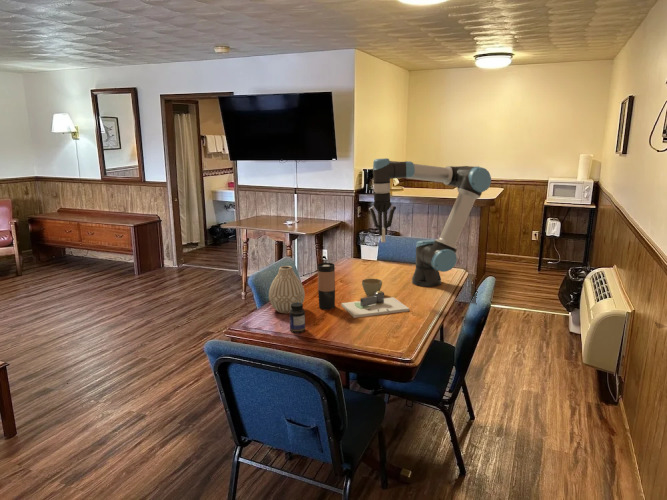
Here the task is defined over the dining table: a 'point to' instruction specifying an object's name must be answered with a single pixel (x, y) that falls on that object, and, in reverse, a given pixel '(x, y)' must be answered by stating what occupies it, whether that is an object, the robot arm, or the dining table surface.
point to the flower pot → (371, 286)
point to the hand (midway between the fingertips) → (383, 241)
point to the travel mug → (326, 286)
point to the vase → (285, 290)
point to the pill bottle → (297, 318)
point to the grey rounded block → (373, 299)
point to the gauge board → (375, 308)
